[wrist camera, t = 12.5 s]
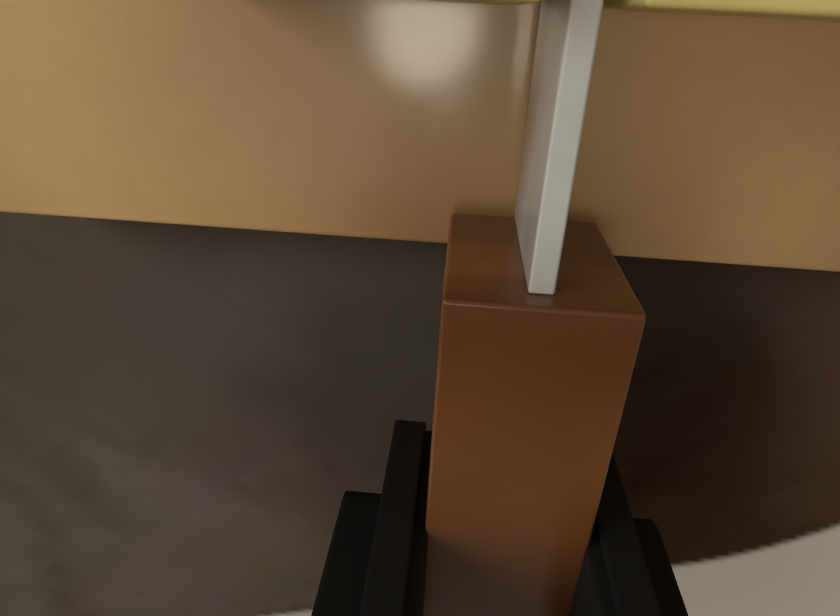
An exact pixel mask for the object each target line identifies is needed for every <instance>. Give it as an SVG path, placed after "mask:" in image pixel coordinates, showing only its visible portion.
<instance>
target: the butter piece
mask: <svg viewBox="0 0 840 616" xmlns="http://www.w3.org/2000/svg"><path fill="white" fill-rule="evenodd" d="M425 1H445V2H465V3H485V4H504V5H516V4H527V3H536V2H538V1H541V0H425Z"/></svg>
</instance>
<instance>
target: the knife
mask: <svg viewBox="0 0 840 616" xmlns="http://www.w3.org/2000/svg"><path fill="white" fill-rule="evenodd" d="M603 5H604V0H541V8H540V16H539V24H538V32H537V40H536V48H535V56H534V64H533V72H532V80H531V88H530V96H529V104H528V112H527V120H526V128H525V136H524V144H523V152H522V160H521V168H520V176H519V184H518V192H517V200H516V209H515V217H504V216H489V215H475V214H461V213H453V214H452V215H451V218H450V226H449V235H448V244H447V253H446V261H445V270H444V279H443V287H442V296H441V307H440V321H439V336H438V350H437V365H436V379H435V394H434V408H433V423H432V437H431V452H430V466H429V481H428V495H427V510H426V524H425V531H426V533H428V535H427V549H426V563H425V577H424V591H423V605H422V616H569V615H570V611H571V607H572V603H573V599H574V595H575V591H576V587H577V583H578V579H579V575H580V571H581V568H582V564H583V560H584V556H585V552H586V549H588V546H589V542H590V538H591V535H592V531H593V527H594V523H595V519H596V515H597V511H598V507H599V503H600V499H601V495H602V491H603V487H604V483H605V480H606V476H607V472H608V468H609V464H610V460H611V456H612V452H613V448H614V444H615V440H616V436H617V432H618V429H619V425H620V421H621V417H622V413H623V409H624V405H625V401H626V397H627V393H628V389H629V385H630V381H631V378H632V374H633V370H634V366H635V362H636V358H637V354H638V350H639V346H640V342H641V338H642V334H643V330H644V327H645V323H646V319H647V317H646V314H645V312H644V310H643V308H642V307H641V305H640V303H639V301H638V299H637V297H636V296H635V294H634V292H633V290H632V288H631V286H630V285H629V283H628V281H627V279H626V277H625V275H624V274H623V272H622V270H621V268H620V266H619V264H618V263H617V261H616V259H615V257H614V255H613V253H612V252H611V250H610V248H609V246H608V244H607V242H606V241H605V239H604V237H603V235H602V233H601V231H600V230H599V228H598V226H597V224H595V223H590V222H575V221H567V218H568V212H569V206H570V200H571V194H572V189H573V183H574V177H575V171H576V165H577V159H578V153H579V147H580V141H581V135H582V129H583V123H584V117H585V111H586V105H587V100H588V94H589V88H590V82H591V76H592V70H593V64H594V58H595V52H596V46H597V40H598V34H599V28H600V22H601V17H602V11H603Z"/></svg>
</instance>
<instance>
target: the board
mask: <svg viewBox="0 0 840 616" xmlns="http://www.w3.org/2000/svg"><path fill="white" fill-rule="evenodd" d="M540 8H541V1H538V2H536V3H527V4H516V5H504V4H485V3H465V2H445V1H425V0H0V212H13V213H27V214H41V215H55V216H69V217H83V218H97V219H111V220H125V221H139V222H153V223H167V224H181V225H195V226H209V227H223V228H236V229H250V230H264V231H278V232H292V233H306V234H320V235H334V236H348V237H362V238H376V239H390V240H404V241H418V242H432V243H446V244H448V235H449V226H450V218H451V215H452V214H453V213H461V214H475V215H489V216H504V217H515V209H516V200H517V192H518V184H519V176H520V168H521V160H522V152H523V144H524V136H525V128H526V120H527V112H528V104H529V96H530V88H531V80H532V72H533V64H534V56H535V48H536V40H537V32H538V24H539V16H540ZM567 221H575V222H590V223H595V224H597V226H598V228H599V230H600V231H601V233H602V235H603V237H604V239H605V241H606V242H607V244H608V246H609V248H610V250H611V252H612V253H613V255H614V256H627V257H641V258H655V259H669V260H683V261H697V262H711V263H725V264H739V265H752V266H766V267H780V268H794V269H808V270H822V271H836V272H840V21H822V20H802V19H782V18H762V17H743V16H723V15H703V14H683V13H663V12H643V11H624V10H604V9H603V11H602V17H601V22H600V28H599V34H598V40H597V46H596V52H595V58H594V64H593V70H592V76H591V82H590V88H589V94H588V100H587V105H586V111H585V117H584V123H583V129H582V135H581V141H580V147H579V153H578V159H577V165H576V171H575V177H574V183H573V189H572V194H571V200H570V206H569V212H568V218H567Z"/></svg>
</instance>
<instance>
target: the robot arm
mask: <svg viewBox="0 0 840 616" xmlns="http://www.w3.org/2000/svg"><path fill="white" fill-rule="evenodd" d="M425 428H426V423H425V422H414V421H402V420H396V421H395V426H394V431H393V437H392V442H391V447H390V452H389V458H388V463H387V468H386V474H385V479H384V484H383V489H382V494H376V493H365V492H355V491H346V492H345V494H344V496H343V499H342V503H341V506H340V510H339V514H338V518H337V521H336V525H335V529H334V533H333V536H332V540H331V544H330V548H329V551H328V555H327V559H326V563H325V566H324V570H323V574H322V578H321V581H320V585H319V589H318V593H317V596H316V600H315V604H314V608H313V611H312V615H311V616H422V605H423V591H424V577H425V563H426V549H427V535H428V533H426V531H425V524H426V510H427V495H428V481H429V466H430V452H431V437H432V431H425ZM569 616H688V614H687V611H686V608H685V605H684V602H683V599H682V596H681V594H680V591H679V588H678V585H677V582H676V579H675V576H674V573H673V570H672V567H671V565H670V562H669V559H668V556H667V553H666V550H665V547H664V544H663V542H662V539H661V536H660V533H659V531H658V528H657V526H656V524H655V523H654V522H653V521H652V520H650V519H640V518H632V515H631V512H630V508H629V505H628V502H627V499H626V495H625V492H624V489H623V485H622V482H621V479H620V476H619V472H618V469H617V466H616V462H615V459H614V456H613V453H612V456H611V460H610V464H609V468H608V472H607V476H606V480H605V483H604V487H603V491H602V495H601V499H600V503H599V507H598V511H597V515H596V519H595V523H594V527H593V531H592V535H591V538H590V542H589V546H588V549H586V552H585V556H584V560H583V564H582V568H581V571H580V575H579V579H578V583H577V587H576V591H575V595H574V599H573V603H572V607H571V611H570V615H569Z"/></svg>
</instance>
